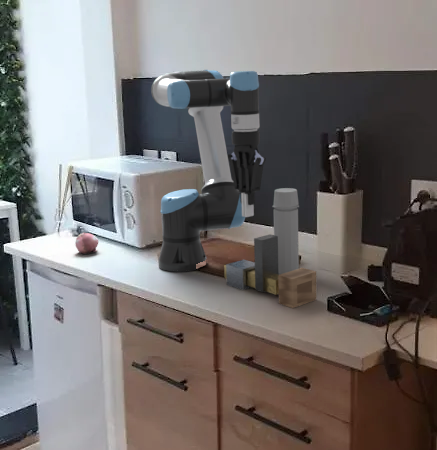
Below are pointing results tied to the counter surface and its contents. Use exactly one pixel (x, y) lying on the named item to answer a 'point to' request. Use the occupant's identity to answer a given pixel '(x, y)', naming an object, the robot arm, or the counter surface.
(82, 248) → the apple
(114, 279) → the counter surface
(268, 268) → the grey and yellow block
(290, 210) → the water bottle
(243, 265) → the sleeve
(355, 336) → the counter surface
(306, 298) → the socket block
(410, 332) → the counter surface
